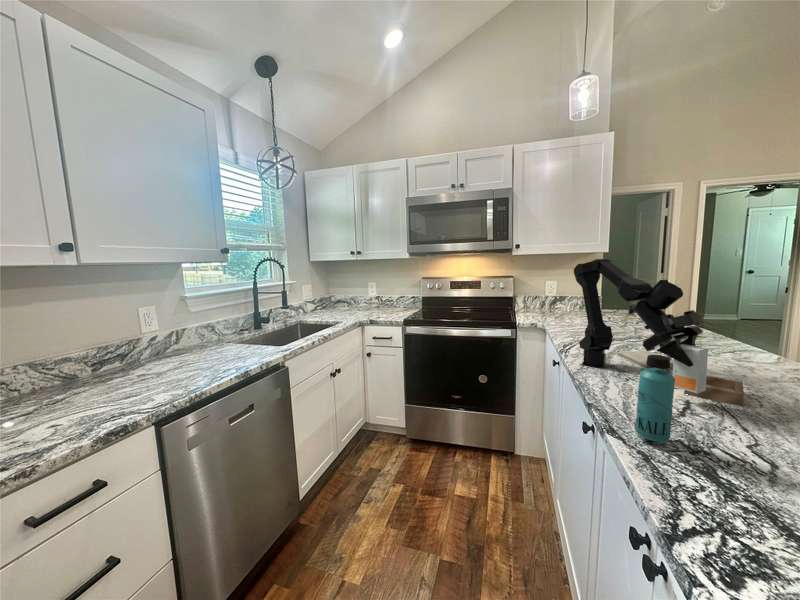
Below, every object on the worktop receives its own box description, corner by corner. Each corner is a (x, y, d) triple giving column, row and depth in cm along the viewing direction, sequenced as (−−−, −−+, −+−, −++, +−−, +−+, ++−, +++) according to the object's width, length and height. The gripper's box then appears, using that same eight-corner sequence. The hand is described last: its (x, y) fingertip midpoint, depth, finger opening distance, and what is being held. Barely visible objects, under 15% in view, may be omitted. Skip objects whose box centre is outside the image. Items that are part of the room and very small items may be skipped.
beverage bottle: (653, 432, 77) (660, 351, 74) (678, 448, 71) (686, 360, 68) (627, 433, 77) (632, 352, 74) (649, 450, 70) (656, 361, 68)
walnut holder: (684, 394, 96) (685, 383, 96) (687, 382, 105) (688, 372, 104) (742, 406, 88) (744, 394, 87) (741, 392, 96) (742, 381, 96)
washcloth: (647, 371, 116) (648, 363, 116) (615, 356, 134) (615, 349, 134) (680, 370, 116) (681, 362, 116) (644, 355, 134) (644, 348, 133)
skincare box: (671, 386, 92) (673, 345, 91) (680, 384, 94) (682, 343, 92) (697, 394, 86) (699, 350, 85) (706, 391, 88) (708, 348, 87)
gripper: (658, 304, 87) (705, 355, 78) (697, 298, 94) (744, 344, 85) (626, 327, 95) (665, 375, 87) (664, 320, 102) (704, 364, 94)
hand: (696, 364), depth 88 cm, fingers closed on skincare box, 4 cm apart
